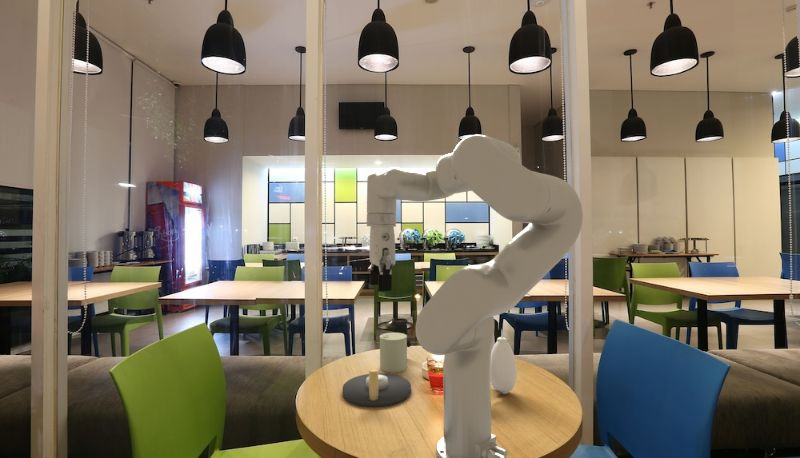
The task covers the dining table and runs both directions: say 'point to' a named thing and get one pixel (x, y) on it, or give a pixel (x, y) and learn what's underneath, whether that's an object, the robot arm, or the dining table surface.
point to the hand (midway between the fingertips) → (380, 287)
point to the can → (393, 352)
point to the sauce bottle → (503, 366)
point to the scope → (401, 327)
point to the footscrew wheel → (376, 389)
